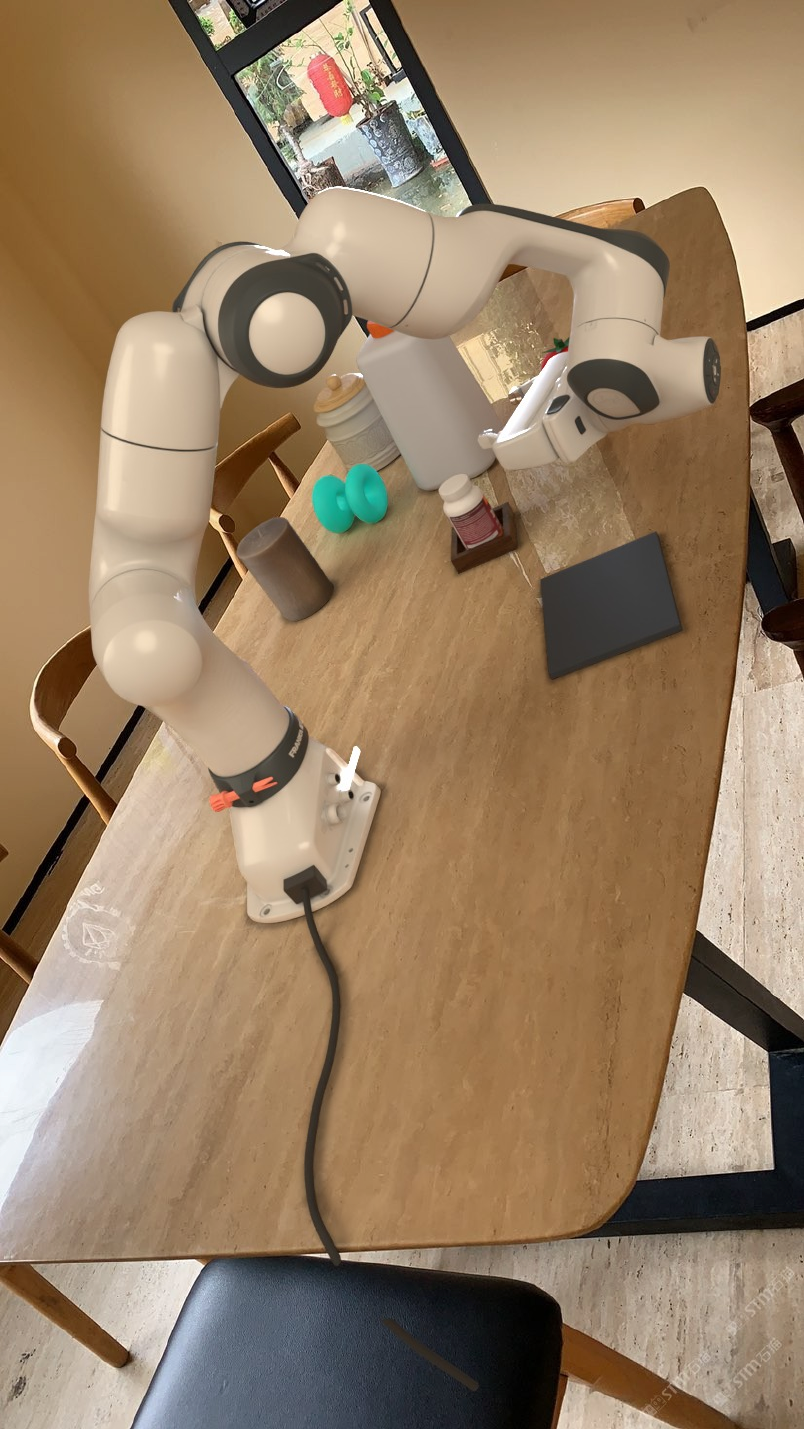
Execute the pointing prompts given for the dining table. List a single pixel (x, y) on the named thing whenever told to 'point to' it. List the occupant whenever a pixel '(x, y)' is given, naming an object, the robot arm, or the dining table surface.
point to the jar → (354, 423)
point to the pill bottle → (469, 511)
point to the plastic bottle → (428, 404)
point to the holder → (486, 543)
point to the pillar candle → (285, 569)
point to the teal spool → (350, 498)
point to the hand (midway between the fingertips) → (496, 418)
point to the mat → (608, 606)
